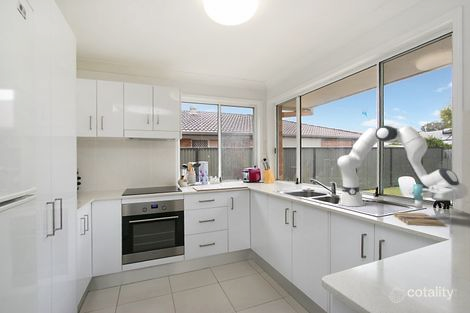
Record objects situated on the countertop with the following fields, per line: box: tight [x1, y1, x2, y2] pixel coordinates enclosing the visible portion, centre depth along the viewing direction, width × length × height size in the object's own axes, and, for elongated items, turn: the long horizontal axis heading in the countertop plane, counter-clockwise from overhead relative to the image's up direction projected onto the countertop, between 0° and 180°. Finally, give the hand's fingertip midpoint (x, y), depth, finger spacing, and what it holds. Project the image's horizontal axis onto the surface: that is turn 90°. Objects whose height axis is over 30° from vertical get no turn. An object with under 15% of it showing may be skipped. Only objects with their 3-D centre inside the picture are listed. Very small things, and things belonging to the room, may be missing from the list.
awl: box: [412, 183, 424, 210], centre depth 123 cm, size 4×4×13 cm
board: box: [392, 211, 446, 227], centre depth 126 cm, size 20×16×2 cm
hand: (416, 193), depth 123 cm, fingers closed on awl, 4 cm apart
